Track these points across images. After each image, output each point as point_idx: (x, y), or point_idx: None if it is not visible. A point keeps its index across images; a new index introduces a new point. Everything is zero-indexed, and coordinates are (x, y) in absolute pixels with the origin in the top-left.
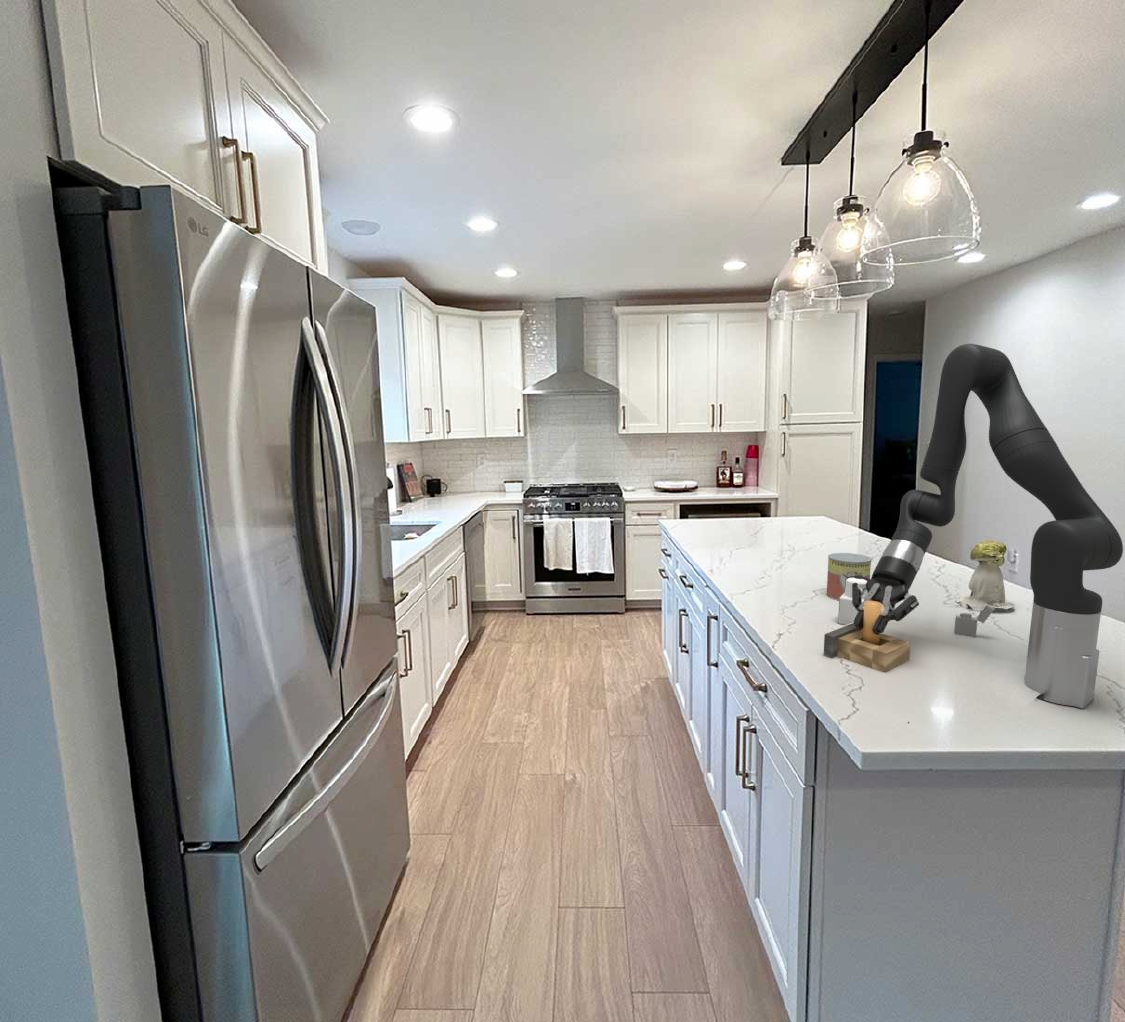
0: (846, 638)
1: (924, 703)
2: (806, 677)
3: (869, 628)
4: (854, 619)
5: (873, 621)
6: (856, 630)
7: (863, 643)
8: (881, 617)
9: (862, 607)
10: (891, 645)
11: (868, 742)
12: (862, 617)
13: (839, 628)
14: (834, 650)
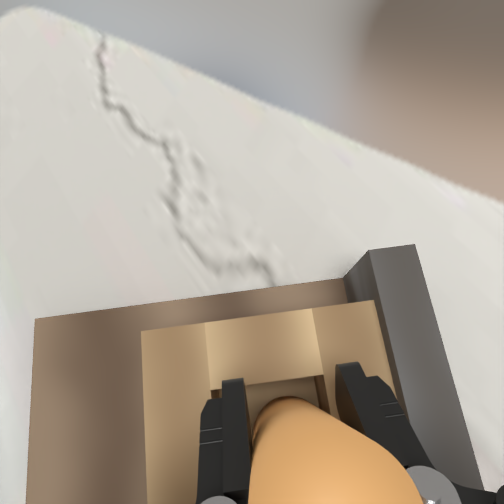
0: (355, 332)
1: (7, 281)
2: (298, 134)
3: (283, 408)
4: (393, 395)
5: (267, 427)
6: None
7: (272, 349)
8: (224, 476)
9: (420, 487)
10: (182, 455)
11: (18, 19)
12: (358, 427)
13: (453, 385)
14: (354, 283)
